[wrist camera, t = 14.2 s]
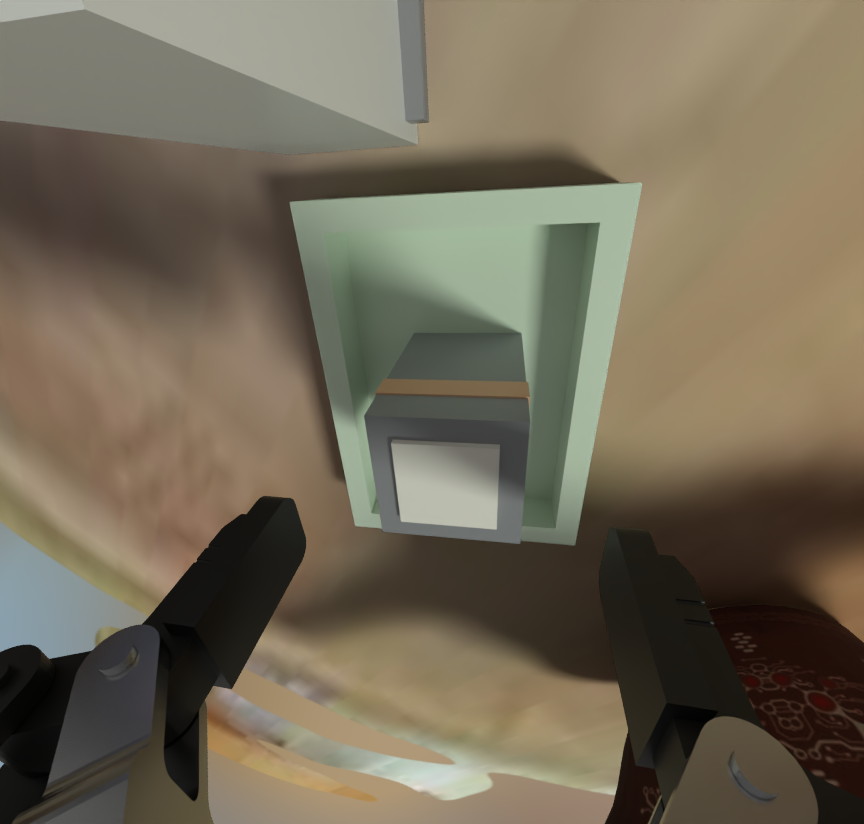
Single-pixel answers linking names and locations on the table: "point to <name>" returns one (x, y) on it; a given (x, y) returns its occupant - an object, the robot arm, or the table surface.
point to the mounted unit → (220, 71)
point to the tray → (474, 313)
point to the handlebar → (781, 698)
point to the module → (452, 437)
